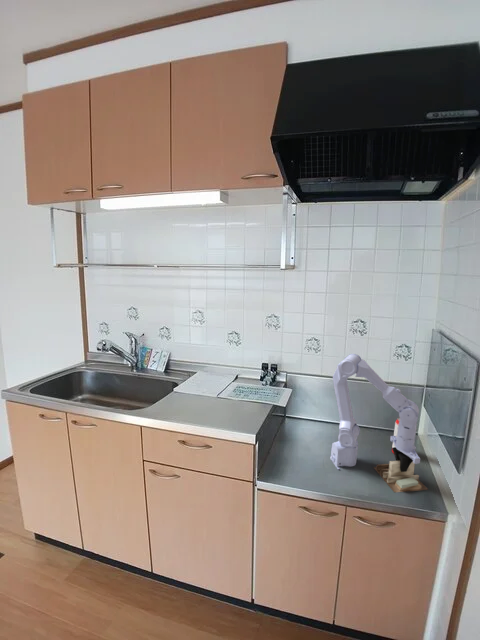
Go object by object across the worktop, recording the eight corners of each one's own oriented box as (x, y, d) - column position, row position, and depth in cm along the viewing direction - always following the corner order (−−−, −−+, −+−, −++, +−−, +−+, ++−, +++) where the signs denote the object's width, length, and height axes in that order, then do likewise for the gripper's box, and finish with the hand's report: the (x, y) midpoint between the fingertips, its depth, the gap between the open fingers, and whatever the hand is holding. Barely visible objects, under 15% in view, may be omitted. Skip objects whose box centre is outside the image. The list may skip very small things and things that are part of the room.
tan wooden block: (390, 481, 121) (392, 463, 120) (387, 478, 123) (389, 461, 122) (412, 479, 123) (415, 462, 121) (410, 476, 124) (412, 459, 123)
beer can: (409, 460, 136) (414, 424, 133) (393, 458, 137) (398, 422, 134) (405, 451, 142) (410, 416, 139) (389, 449, 143) (394, 415, 140)
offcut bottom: (400, 490, 116) (400, 487, 116) (395, 485, 119) (395, 482, 119) (421, 489, 118) (421, 486, 117) (415, 483, 120) (415, 480, 120)
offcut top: (401, 488, 116) (402, 485, 116) (396, 483, 118) (396, 480, 118) (417, 484, 118) (418, 481, 118) (412, 480, 120) (412, 477, 120)
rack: (394, 494, 116) (395, 487, 115) (372, 469, 129) (373, 462, 129) (428, 492, 118) (429, 484, 117) (403, 467, 131) (404, 460, 131)
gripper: (430, 446, 113) (425, 481, 116) (403, 424, 127) (399, 456, 130) (411, 447, 112) (406, 483, 115) (386, 425, 126) (382, 457, 129)
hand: (401, 469), depth 122 cm, fingers closed on tan wooden block, 2 cm apart
